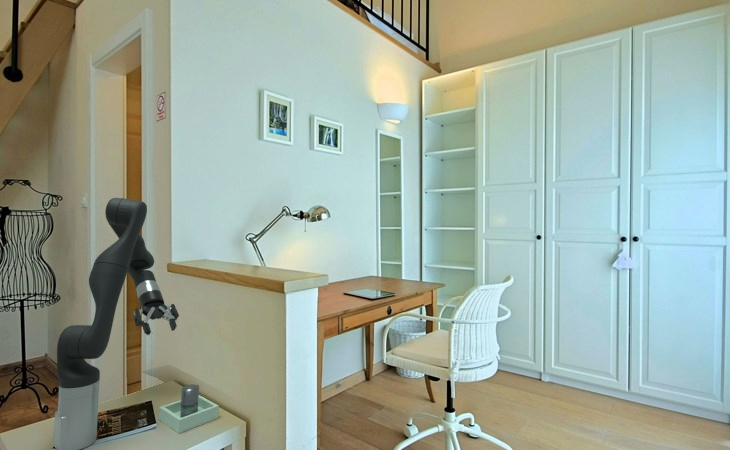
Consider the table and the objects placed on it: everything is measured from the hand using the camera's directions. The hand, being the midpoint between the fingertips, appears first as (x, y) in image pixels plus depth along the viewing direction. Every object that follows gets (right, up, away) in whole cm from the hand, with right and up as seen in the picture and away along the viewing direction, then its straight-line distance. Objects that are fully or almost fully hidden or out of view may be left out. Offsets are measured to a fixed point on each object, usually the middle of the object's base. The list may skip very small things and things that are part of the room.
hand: (161, 331), depth 135 cm
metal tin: (+15, -24, -12) cm, 31 cm away
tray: (+15, -25, -12) cm, 32 cm away
